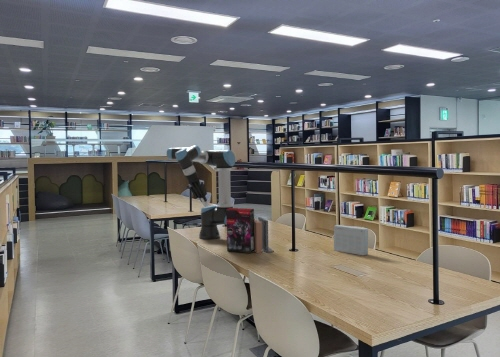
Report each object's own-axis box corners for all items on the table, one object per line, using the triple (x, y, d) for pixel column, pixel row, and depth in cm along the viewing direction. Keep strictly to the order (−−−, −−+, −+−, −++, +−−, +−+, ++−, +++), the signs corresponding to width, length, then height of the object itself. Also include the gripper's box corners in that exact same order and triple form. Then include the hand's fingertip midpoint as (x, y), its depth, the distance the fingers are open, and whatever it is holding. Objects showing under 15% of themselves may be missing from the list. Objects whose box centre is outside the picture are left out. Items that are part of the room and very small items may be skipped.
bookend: (258, 246, 262) (258, 216, 261) (266, 246, 264) (265, 216, 262) (266, 252, 247) (265, 220, 246) (274, 252, 248) (273, 220, 247)
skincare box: (368, 254, 240) (368, 228, 239) (364, 256, 236) (364, 229, 235) (337, 248, 254) (337, 224, 253) (333, 250, 250) (333, 225, 249)
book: (250, 248, 259) (250, 219, 258) (256, 247, 260) (255, 219, 259) (256, 252, 247) (256, 222, 246) (262, 252, 248) (261, 222, 247)
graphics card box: (226, 251, 251) (225, 208, 250) (231, 249, 258) (230, 207, 256) (251, 253, 245) (250, 210, 243) (255, 251, 251) (254, 208, 249)
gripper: (179, 178, 246) (195, 210, 252) (195, 173, 239) (211, 207, 245) (186, 173, 252) (201, 205, 258) (201, 168, 245) (217, 201, 251)
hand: (206, 206), depth 251 cm, fingers closed
